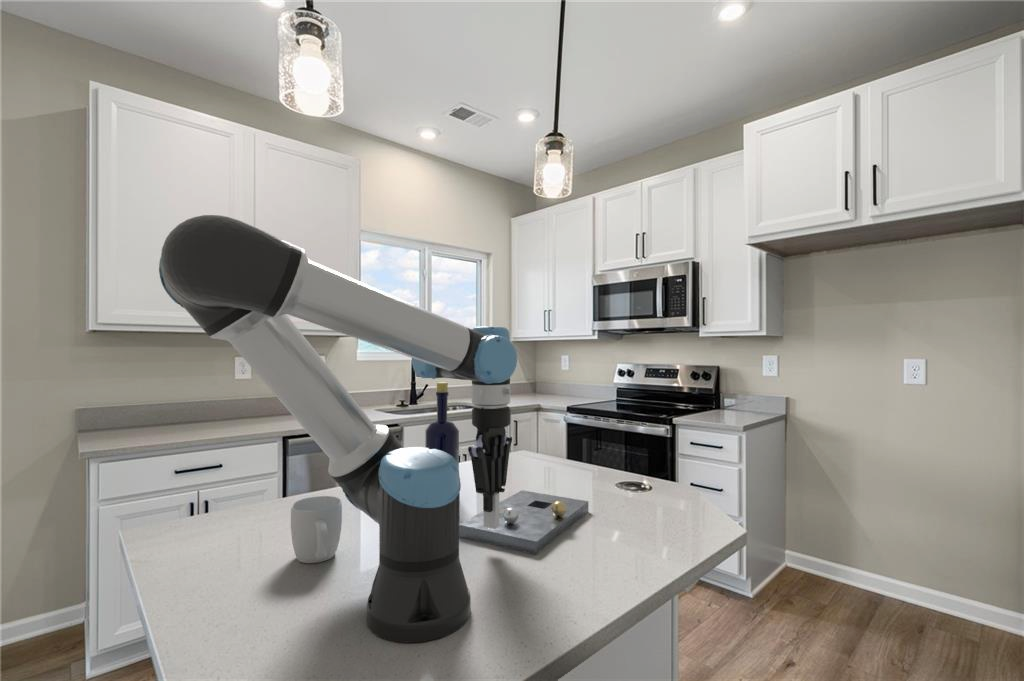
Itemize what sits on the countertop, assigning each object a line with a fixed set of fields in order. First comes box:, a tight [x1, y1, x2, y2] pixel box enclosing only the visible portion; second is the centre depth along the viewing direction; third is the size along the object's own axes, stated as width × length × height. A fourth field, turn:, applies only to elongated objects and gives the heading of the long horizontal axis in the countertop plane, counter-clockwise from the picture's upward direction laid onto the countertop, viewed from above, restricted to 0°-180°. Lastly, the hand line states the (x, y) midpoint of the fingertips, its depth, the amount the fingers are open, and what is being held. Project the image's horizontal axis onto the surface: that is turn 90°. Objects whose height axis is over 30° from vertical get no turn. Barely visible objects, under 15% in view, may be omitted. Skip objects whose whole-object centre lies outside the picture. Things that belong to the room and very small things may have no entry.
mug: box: [290, 495, 343, 564], centre depth 92 cm, size 13×9×10 cm
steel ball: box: [503, 508, 518, 524], centre depth 104 cm, size 3×3×3 cm
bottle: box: [424, 381, 460, 468], centre depth 128 cm, size 9×9×30 cm
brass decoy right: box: [551, 501, 566, 517], centre depth 109 cm, size 3×3×3 cm
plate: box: [459, 490, 589, 556], centre depth 111 cm, size 28×18×2 cm, turn 151°
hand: (491, 526), depth 97 cm, fingers closed
